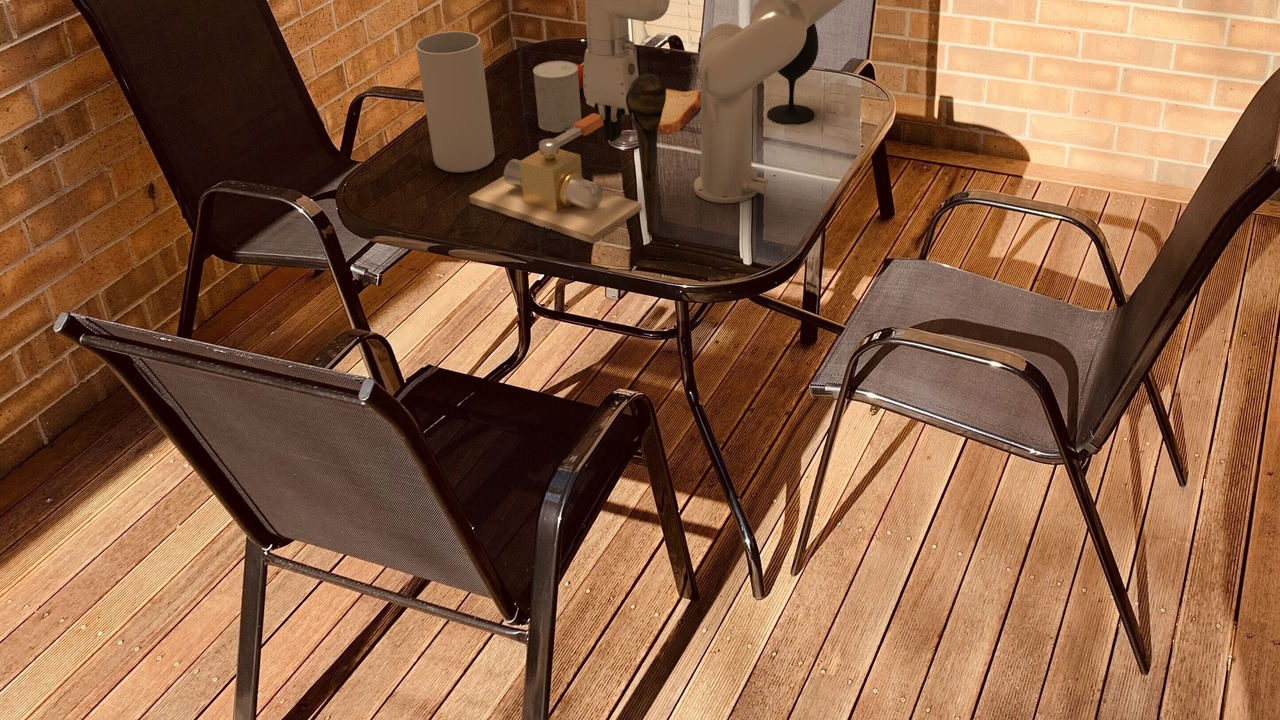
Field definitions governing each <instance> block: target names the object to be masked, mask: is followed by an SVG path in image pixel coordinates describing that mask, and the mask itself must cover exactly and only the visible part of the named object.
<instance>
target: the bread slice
mask: <svg viewBox="0 0 1280 720" xmlns="http://www.w3.org/2000/svg"><path fill="white" fill-rule="evenodd" d="M665 89H666V101H665V105H664V108H663V112H662V117H661V120H660V124H659V127H657V132H660V133H662V134H661V135H674V134H677V133H678V132H679V131H681V130H682V129H684V128H685V127H686V125H688V124H689V122H690V121H691V120H692V119H693V118H694V116H695V115H696V114H697V112H698V111H699V109H701V90H699V89H695V90H689V91H688V90H687V91H681V90H677V89H676V90H675V89H670V88H665ZM690 119H691V120H690ZM689 120H690V121H689ZM684 126H685V127H684ZM681 128H682V129H681ZM680 129H681V130H680ZM676 132H677V133H676ZM660 133H659V134H660Z"/></svg>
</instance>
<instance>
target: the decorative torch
mask: <svg viewBox="0 0 1280 720" xmlns="http://www.w3.org/2000/svg"><path fill="white" fill-rule="evenodd" d="M666 89H667V88H666V87H665V86H664V84H663V83H662V82H661V80H660V78H659V77H658V76H657V75H656V74H652V73H649V72H647V73H643V74H641V75H639V76H638V77H637V78H636V79H635V80H634V81H633V82H632V84H631V87H630V88H629V91H628V93H627V95H626V104H627V108H628V112H629V115H628V116H629V118H630V120H631V123H632V124H633V126H634V127H635V129H636V133H637V134H636V135H637V136H636V137H637V145H638V155H639V163H640V164H639V165H640V172H641V181H642V183H641V185H642V193H643V201H644V209H645V210H644V211H645V219H646V231H647V234H649V235H652V234H654V232H655V212H656V210H655V207H656V184H657V182H656V181H657V179H656V178H657V177H656V176H657V154H658V153H657V151H658V148H657V146H658V133H657V127H659V124H660V120H661V117H662V112H663V108H664V105H665V101H666ZM632 113H633V114H632Z"/></svg>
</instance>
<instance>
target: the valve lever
mask: <svg viewBox="0 0 1280 720" xmlns="http://www.w3.org/2000/svg"><path fill="white" fill-rule="evenodd" d="M581 119H582V120H580V121H578V122H576V123H575V124H574V128H572V129H570V130H568V131H566V132H562V133H561V134H560V135H557V136H556V137H555V138H544V139H541V140H540V141H539V142H538V149H539V150H540V154H541V155H544V156H552V155H556V154H558V153H559V149H560V147H562V146H564V145H566V144H567V143H569V142H571V141H573V140H575V139H576V138H578V137H579V136H581V135H582V136H587V135H589V134H591V133H592V132H594V131H595V130H597V129H600V128H602V127H604V126H603V120H602V119H601V118H600V114H599V113H594V112H593V113H591V114H589V115H588V116H585V117H584V118H581ZM539 150H538V151H539Z"/></svg>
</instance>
